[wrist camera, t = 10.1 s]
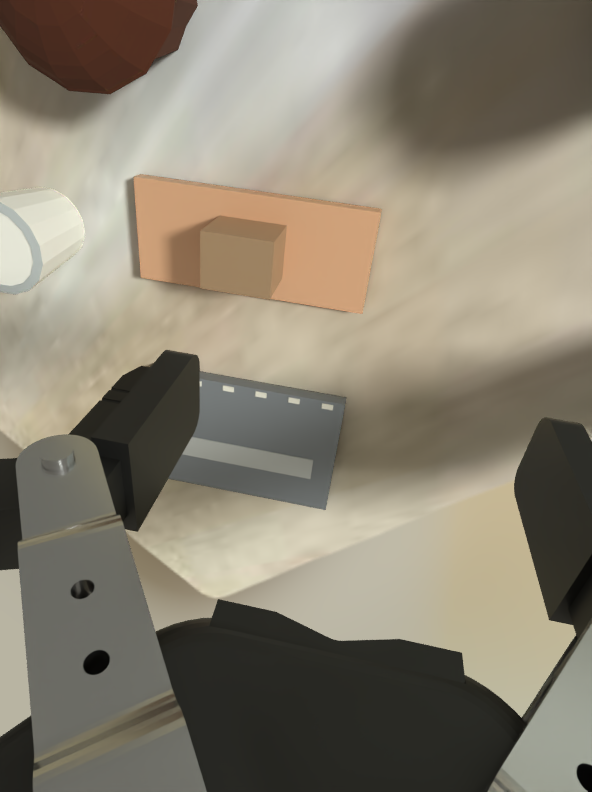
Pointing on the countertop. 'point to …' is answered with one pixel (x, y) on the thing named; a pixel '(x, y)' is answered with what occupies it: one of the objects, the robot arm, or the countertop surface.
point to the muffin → (95, 38)
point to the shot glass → (36, 236)
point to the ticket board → (263, 440)
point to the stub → (255, 242)
